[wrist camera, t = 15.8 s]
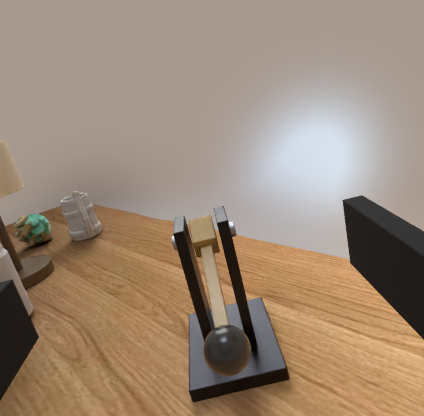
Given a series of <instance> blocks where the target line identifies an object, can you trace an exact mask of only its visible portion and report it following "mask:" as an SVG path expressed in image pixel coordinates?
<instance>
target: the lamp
mask: <svg viewBox="0 0 424 416" xmlns="http://www.w3.org/2000/svg"><path fill="white" fill-rule="evenodd" d="M23 187H24V184H23V181H22V179H21V176H20V174H19V171H18V169H17V167H16V164H15V162H14V159H13V157H12V154H11V152H10V150H9V147H8V144H7V142H6V140H1V141H0V198H1V197H3V196H6V195H9V194H11V193H14V192H16V191H18V190H20V189H22V188H23ZM0 241H1V243H2V245H3V247H4V249H5V250H7V251H8V253H9V256H10V258H11V260H12V262H13V264H14V267H15V269H16V271H17V273H18V275H19V278H20V280H21V282H22V284H23V287H24V289H26V288H28V287H30V286H32V285H34V284H36V283H38V282H40V281H41V280H43V279H44V278H46V277H47V276H48V275H49V274H50V273H51V272H52V271H53V269H54V265H53V262H52V260H51V257H50V256H47V255H39V256H33V257H29V258H26V259H23V260H19V257H18V255H17V253H16V251H15V248H14V246H13V244H12V242H11V239H10V237H9V235H8V232H7V230H6V228H5V226H4V223H3V221H2V219H1V216H0Z"/></svg>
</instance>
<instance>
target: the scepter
mask: <svg viewBox="0 0 424 416" xmlns="http://www.w3.org/2000/svg"><path fill="white" fill-rule="evenodd" d="M14 227H15V228H16V229H17V230H18V231H17V232H16V233H15V236H17V237H18V241H23V242H27V243H28V246H33V245H34V244H35V243H36V242H40V241H41V240H47V241H49V240H51V239H52V237H51V225H49V221H48V220H47V219H46V218H45V217H43V216H41V215H39V214H36V213H35V214H32V215H28V216H21V217H19V219H18V222H17V223H15V225H14Z"/></svg>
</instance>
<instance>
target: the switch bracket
mask: <svg viewBox="0 0 424 416" xmlns="http://www.w3.org/2000/svg"><path fill="white" fill-rule="evenodd" d="M214 212H215V216H216V221H217V225H218V229H219V233H220V237H221V241H222V245H223V249H224V253H225V258H226V262H227V266H228V270H229V274H230V278H231V282H232V286H233V290H234V294H235V298H236V302H237V303H235V304H231V305H227V306H225V307H226V312H227V316H228V321H229V325H233V326H236V327H238V328H239V329H241V330H242V331H243V332H244V333H245V334H246V336H247V337H248V339H249V342H250V345H251V357H250V360H249V362H248V364H247V366H246V367H245V368H244V370H242V371H241V372H240V373H238V374H236V375H233V376H222V375H219V374H217V373H215V372H213V371H212V370H211V369H210V368H209V367H208V365H207V364H206V362H205V359H204V355H203V345H204V341H205V339H206V337H207V335H208V334H209V332H210V331H211V330H213V329H214V328H215V326H214V320H213V315H212V309H210V307H209V304H208V300H207V296H206V293H205V289H204V285H203V282H202V278H201V275H200V271H199V267H198V264H197V260H196V256H195V253H194V249H193V245H192V242H191V238H190V234H189V231H188V227H187V223H186V220H185V217H184V216H180V217H176V218H175V220H174V229H173V236H172V243H173V247H174V250H175V251H176V250H178V253H179V257H180V260H181V263H182V267H183V270H184V274H185V277H186V281H187V284H188V288H189V291H190V295H191V298H192V301H193V305H194V308H195V312H196V313H194V314H190V315H189V392H190V395H191V399H192V401H193V402H194V401H198V400H203V399H207V398H211V397H215V396H219V395H224V394H228V393H232V392H236V391H240V390H244V389H249V388H253V387H257V386H261V385H265V384H269V383H274V382H278V381H282V380H286V379H289V375H288V370H287V366H286V364H285V361H284V358H283V355H282V353H281V350H280V347H279V344H278V342H277V339H276V336H275V333H274V331H273V328H272V325H271V322H270V320H269V317H268V314H267V311H266V308H265V306H264V303H263V300H262V298H261V297H260V298H256V299H252V300H247V299H246V294H245V290H244V286H243V282H242V277H241V273H240V269H239V265H238V260H237V256H236V252H235V248H234V244H233V239H232V237H234V236H236V231H235V226H234V223H233V222H228V219H227V216H226V213H225V209H224V206H221V207H217V208H214Z"/></svg>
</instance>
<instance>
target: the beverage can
mask: <svg viewBox="0 0 424 416" xmlns="http://www.w3.org/2000/svg"><path fill="white" fill-rule="evenodd" d="M11 279H13V281H14V284H15V286H16V288H17V290H18V292H19V295H20V297H21V299H22V301H23V303H24V306H25V308H26V310H27V312H28V314H29V316H30V314H31V313H32V311H33V307H32V304H31V302H30V300H29V298H28V295H27V293H26V291H25V289H24V287H23V284H22V282H21V280H20V278H19V275H18V273H17V271H16V269H15V267H14V264H13V262H12V260H11V258H10V256H9V253H8V251H7V250H5V249H3V248H2V245H1V244H0V282H3V281H7V280H11Z"/></svg>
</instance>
